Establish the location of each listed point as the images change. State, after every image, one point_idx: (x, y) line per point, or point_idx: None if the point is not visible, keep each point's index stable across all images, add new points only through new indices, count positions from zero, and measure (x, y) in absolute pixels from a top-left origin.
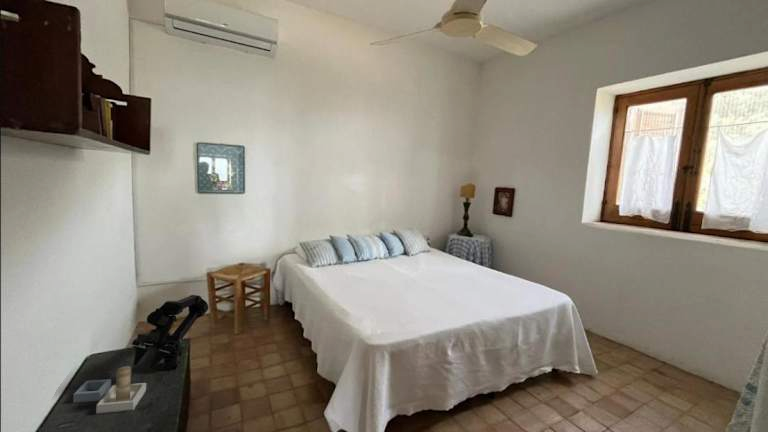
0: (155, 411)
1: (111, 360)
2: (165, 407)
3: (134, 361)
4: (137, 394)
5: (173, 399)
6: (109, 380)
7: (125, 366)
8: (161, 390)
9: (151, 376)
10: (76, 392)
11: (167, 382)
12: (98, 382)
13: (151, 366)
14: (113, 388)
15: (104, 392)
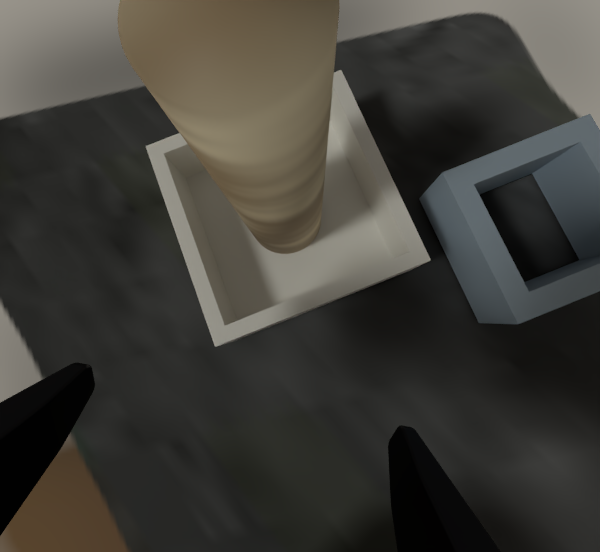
0: (58, 199)
1: None
2: (25, 238)
3: (428, 467)
4: (175, 213)
5: (21, 308)
6: (512, 303)
7: (285, 92)
8: (144, 368)
9: (319, 499)
10: (592, 134)
11: (161, 458)
12: (571, 272)
13: (47, 381)
14: (401, 243)
15: (449, 242)
